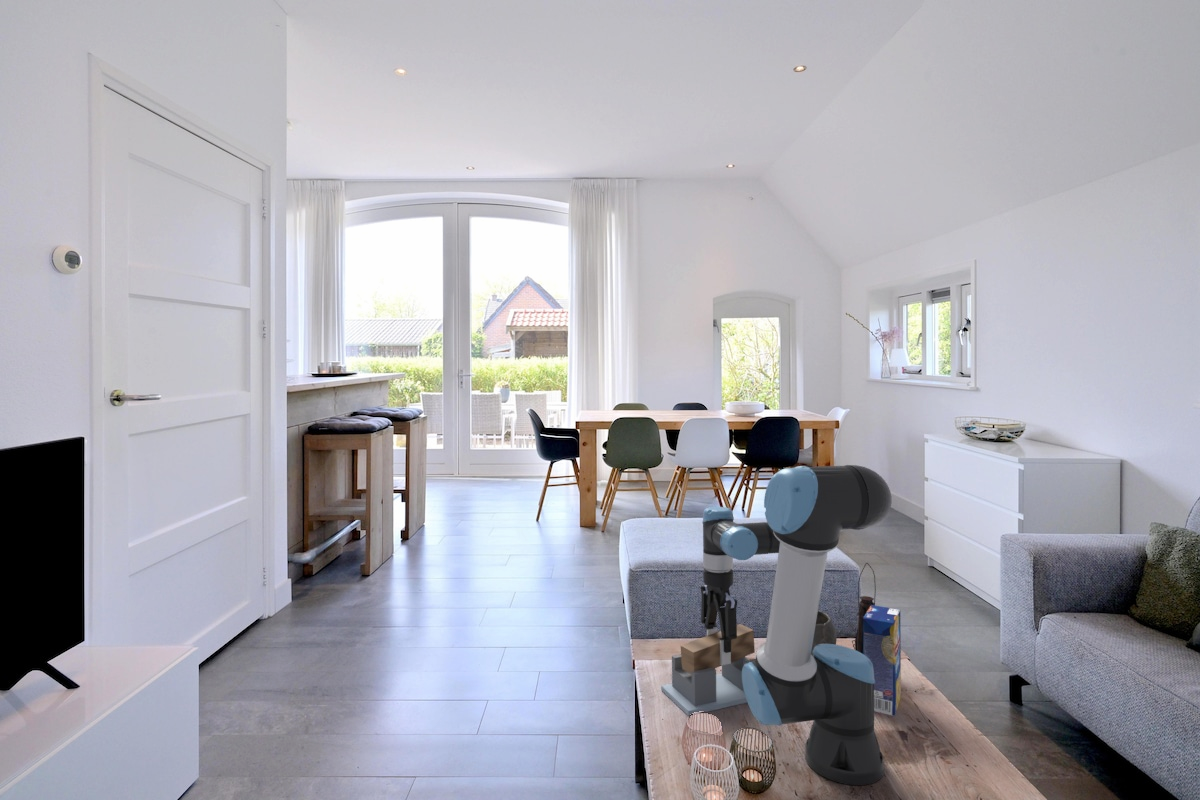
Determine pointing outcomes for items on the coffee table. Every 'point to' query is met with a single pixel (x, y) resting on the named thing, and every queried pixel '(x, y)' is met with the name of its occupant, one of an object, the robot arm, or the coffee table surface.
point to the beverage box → (884, 655)
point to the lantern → (863, 608)
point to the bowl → (823, 631)
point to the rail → (715, 650)
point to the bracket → (706, 686)
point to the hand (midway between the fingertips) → (718, 658)
